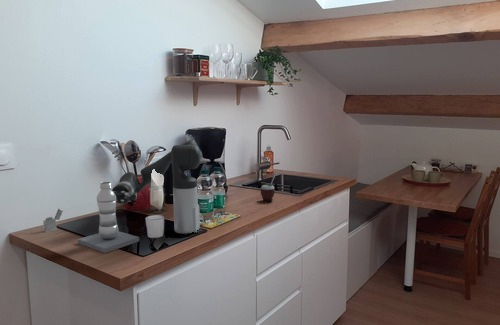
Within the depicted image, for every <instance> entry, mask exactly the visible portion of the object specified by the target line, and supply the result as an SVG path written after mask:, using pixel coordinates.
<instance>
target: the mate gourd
mask: <svg viewBox="0 0 500 325" xmlns="http://www.w3.org/2000/svg"><path fill="white" fill-rule="evenodd" d="M279 173H280V171H278V172H276V173H274V175H273V176H272V179H271V182H270V184H263V185H262V186H261V187H260V195H261V197H262V203H263V202H264V203H265V201H266V202H268V201H269V203H272V202H273V197H274V196H275V192H276V191H275V186H274V185H273V183H274V182H273V181H274V179H275V178H276V176H277V175H278V174H279Z"/></svg>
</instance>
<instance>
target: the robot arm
mask: <svg viewBox="0 0 500 325" xmlns="http://www.w3.org/2000/svg"><path fill="white" fill-rule="evenodd" d="M201 159H203V152H202V150H201V148H200V147H199V145H198V143H197V142H196V140H194V139H189V140H187V141H185V142H183V143H181V144H175V145H173V146H172V148H171V151H169V152H168V153H166V154H164V155H163V156H162V157H161V158H159V159H158V160H156V161H154V162H153V163H151V164H148V165H147V166H145V167H144V168H142V169H140V176H141V182H140V181H139V179H138V178H137V176H136V174H135V173H134V172H131V171H129V172H124V174H122V175H121V177H119V178H120V179H119V183H117V184H116V185H115V186H114V187H112V188H111V190H112V191H113V192H114V193H115V195H116V203H118V204H125V205H126V204H127V203H130V202H131V201H132V202H136V201H137V199H138V194H139V193H140V192H141V191H143V189H144V188H145V187H146V186H148V185H149V184H150V183H151V182H152V181H151V173H152V170H153V169H155V171H156V172H157V173H160V174H162V176H163V175H164V174H165V173H166V172H167V170H168V169H169V167H170V165H171V168H172V169H171V170H172V194H173V196H172V197H173V201H172V202H173V221H174V225H173V227H174V228H173V229H174V232H175V233H177V234H191V233H192V232H194V233H195V232H196V233H197V232H198V231H199V230H200V226H201V225H200V223H201V222H200V219H201V218H200V204H198V202H199V200H198V199H199V198H198V180H197V178H195V177H193V176H189V175H187V174H185V173H183V171H182V170H194V169H195V170H196V169H197V168H199V167H200V163H201ZM197 230H198V231H197Z"/></svg>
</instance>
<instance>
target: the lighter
mask: <svg viewBox="0 0 500 325" xmlns="http://www.w3.org/2000/svg"><path fill="white" fill-rule="evenodd" d="M63 211H64V210H63V209H62V208H58V209H57V211H56V213H55V216H54V218H53V217H52V216H47V217H46V218H45V219H44V220H43V221H42V224H43V232H44V233H49V232H53V231H57V221H60V218H61V216H62V214H63Z"/></svg>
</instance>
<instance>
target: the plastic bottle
mask: <svg viewBox="0 0 500 325" xmlns="http://www.w3.org/2000/svg"><path fill="white" fill-rule="evenodd" d="M99 185H100V186H99V188H100V190H99V192H98V194H97V196H96V202H97V207H98V215H99V226H98V233H99V235H100V237H101V238H103V239H111V238H115V237H117V235H118V231H119V226H118V223H117V222H118V221H117V216H116V215H117V214H116V210H117V209H116V208H117V206H116V205H117V204H116V203H117V202H116V195H115V193H114V192H113V191H112V189H113V187H112V182H111V181H104V182H103V181H101V182H100V183H99Z"/></svg>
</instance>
